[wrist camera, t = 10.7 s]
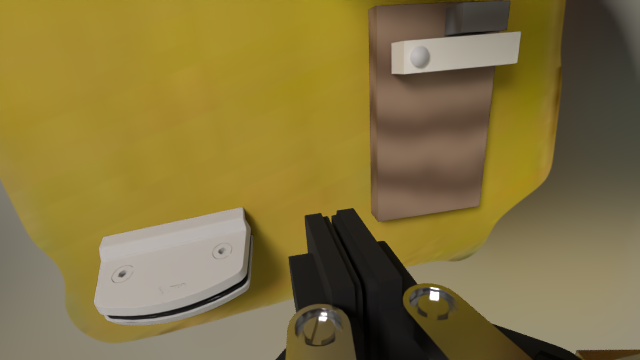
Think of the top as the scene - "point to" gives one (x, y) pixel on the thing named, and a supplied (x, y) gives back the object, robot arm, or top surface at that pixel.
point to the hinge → (174, 269)
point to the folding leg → (455, 52)
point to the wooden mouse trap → (428, 111)
